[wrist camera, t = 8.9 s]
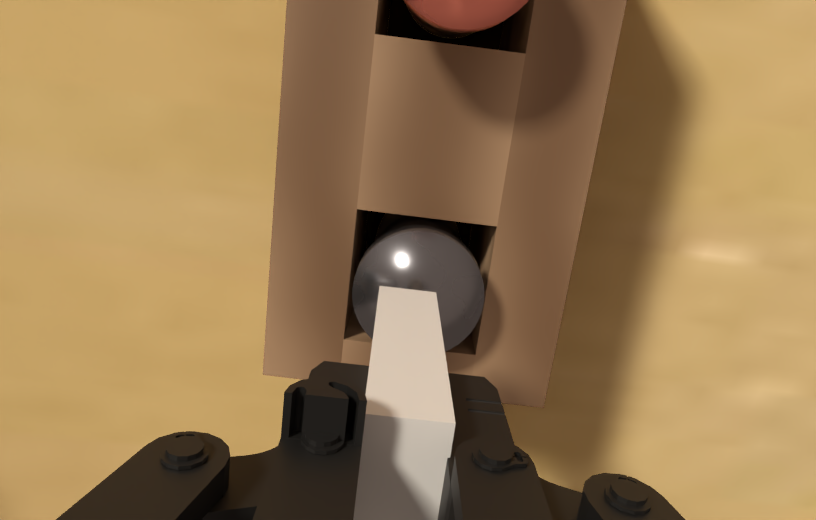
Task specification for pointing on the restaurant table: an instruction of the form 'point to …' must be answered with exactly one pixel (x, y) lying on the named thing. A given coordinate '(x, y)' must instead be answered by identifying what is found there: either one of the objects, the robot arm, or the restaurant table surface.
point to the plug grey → (421, 272)
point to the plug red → (461, 15)
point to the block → (436, 173)
